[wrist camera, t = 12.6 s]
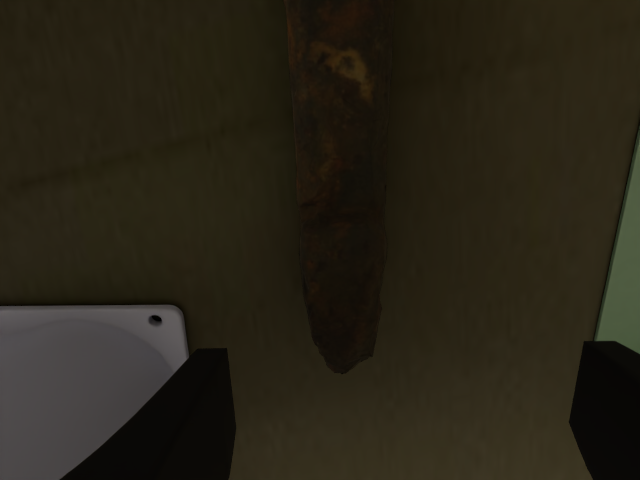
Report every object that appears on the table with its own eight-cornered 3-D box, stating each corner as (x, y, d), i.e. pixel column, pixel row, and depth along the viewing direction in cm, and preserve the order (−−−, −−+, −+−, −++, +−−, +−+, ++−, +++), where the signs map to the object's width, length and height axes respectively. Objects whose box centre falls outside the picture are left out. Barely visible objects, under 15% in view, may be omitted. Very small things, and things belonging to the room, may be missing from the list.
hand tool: (255, -304, 14) (223, -432, 10) (411, -302, 14) (446, -431, 10) (270, 325, 22) (256, 405, 18) (372, 327, 22) (382, 408, 18)
